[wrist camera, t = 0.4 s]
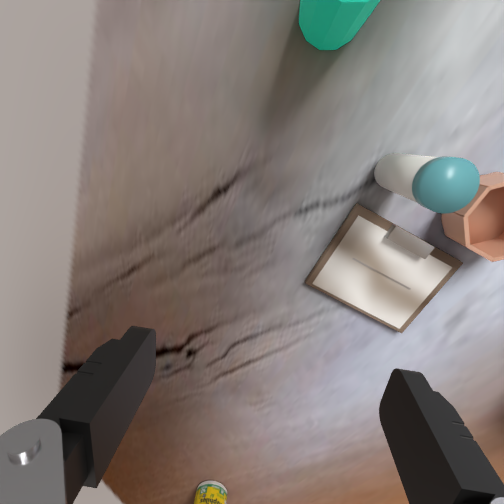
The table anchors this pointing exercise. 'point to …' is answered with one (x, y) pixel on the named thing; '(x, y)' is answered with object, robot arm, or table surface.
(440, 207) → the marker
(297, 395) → the table surface
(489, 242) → the pen cup
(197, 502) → the supplement bottle
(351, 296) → the clipboard
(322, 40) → the candle
